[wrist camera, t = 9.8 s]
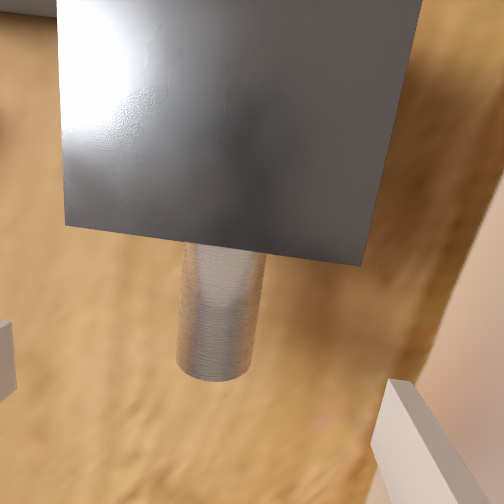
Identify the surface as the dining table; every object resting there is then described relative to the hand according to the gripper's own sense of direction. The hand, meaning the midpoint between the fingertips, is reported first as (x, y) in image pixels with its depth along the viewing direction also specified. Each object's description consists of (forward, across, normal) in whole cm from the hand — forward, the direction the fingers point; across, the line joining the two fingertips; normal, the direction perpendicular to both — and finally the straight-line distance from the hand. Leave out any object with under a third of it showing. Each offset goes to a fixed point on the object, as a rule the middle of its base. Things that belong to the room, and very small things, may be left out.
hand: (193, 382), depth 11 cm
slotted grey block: (+13, 0, +10) cm, 16 cm away
